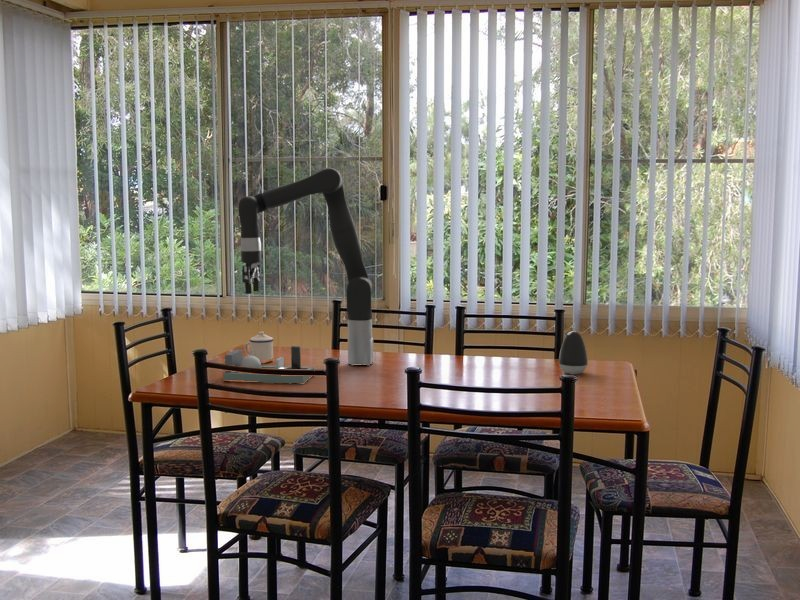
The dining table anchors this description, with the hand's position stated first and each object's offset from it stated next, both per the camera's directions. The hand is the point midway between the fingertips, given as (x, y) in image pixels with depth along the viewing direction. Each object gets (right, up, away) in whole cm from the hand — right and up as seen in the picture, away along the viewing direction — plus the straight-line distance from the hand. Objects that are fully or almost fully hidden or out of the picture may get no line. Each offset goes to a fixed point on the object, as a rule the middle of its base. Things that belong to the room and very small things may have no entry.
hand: (252, 292), depth 314 cm
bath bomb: (+3, -30, -24) cm, 39 cm away
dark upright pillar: (+17, -30, -26) cm, 43 cm away
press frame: (+10, -30, -25) cm, 41 cm away
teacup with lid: (+1, -27, +7) cm, 28 cm away
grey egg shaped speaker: (+118, -29, -15) cm, 122 cm away
